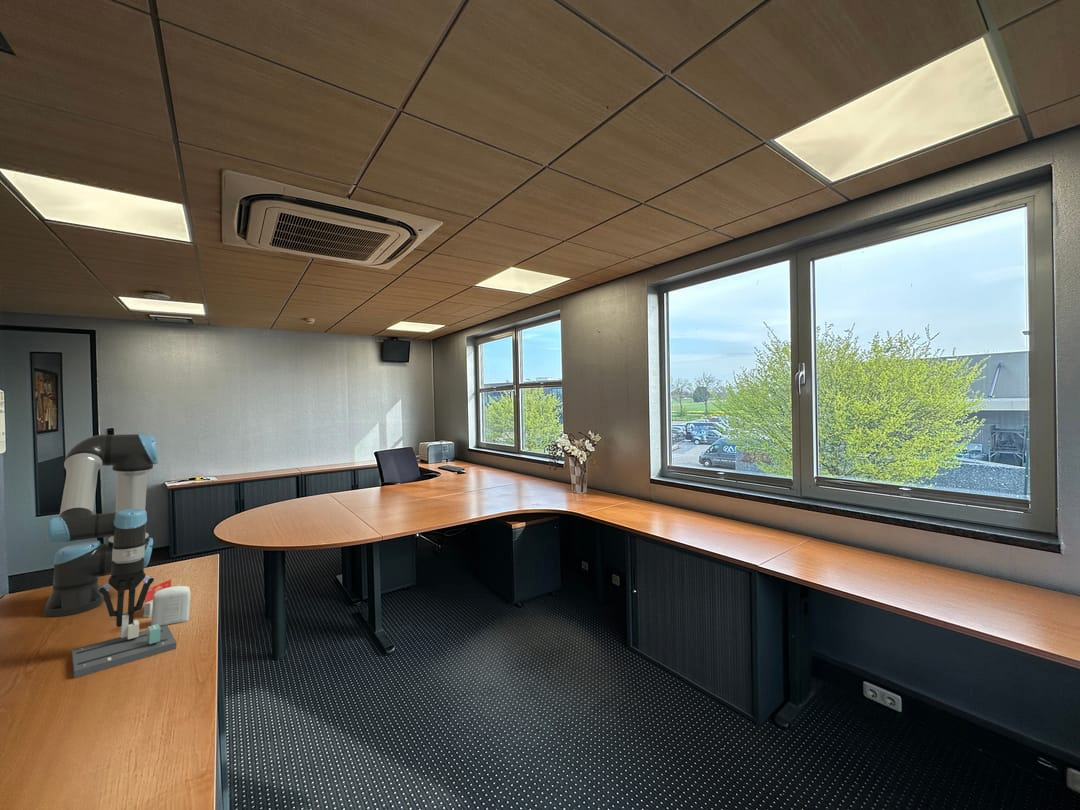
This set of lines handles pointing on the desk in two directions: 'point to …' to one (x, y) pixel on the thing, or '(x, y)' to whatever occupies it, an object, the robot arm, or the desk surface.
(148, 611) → the ink cartridge box
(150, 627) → the teal fader
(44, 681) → the desk surface
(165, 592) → the photo printer
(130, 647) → the console
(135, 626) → the ivory fader
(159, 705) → the desk surface
